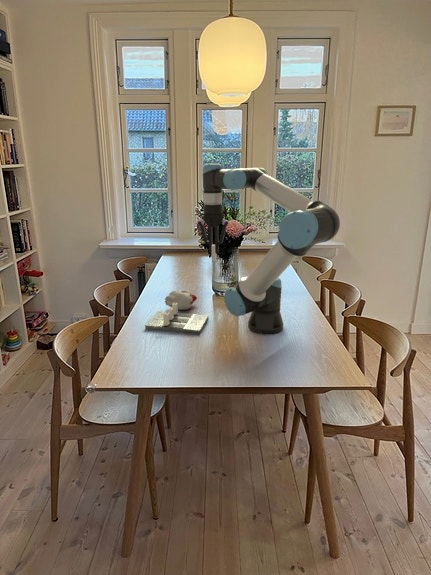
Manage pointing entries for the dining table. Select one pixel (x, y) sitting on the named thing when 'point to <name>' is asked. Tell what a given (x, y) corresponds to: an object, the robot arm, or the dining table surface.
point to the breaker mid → (171, 313)
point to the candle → (180, 299)
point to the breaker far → (175, 308)
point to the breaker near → (166, 319)
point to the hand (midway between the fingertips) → (214, 260)
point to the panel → (178, 323)
